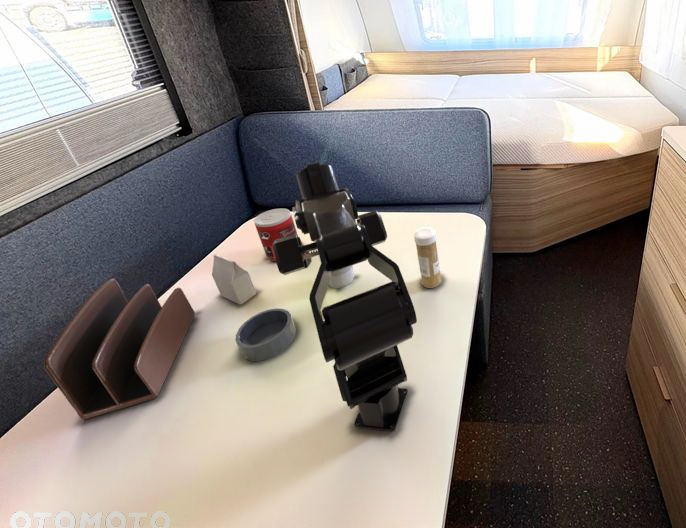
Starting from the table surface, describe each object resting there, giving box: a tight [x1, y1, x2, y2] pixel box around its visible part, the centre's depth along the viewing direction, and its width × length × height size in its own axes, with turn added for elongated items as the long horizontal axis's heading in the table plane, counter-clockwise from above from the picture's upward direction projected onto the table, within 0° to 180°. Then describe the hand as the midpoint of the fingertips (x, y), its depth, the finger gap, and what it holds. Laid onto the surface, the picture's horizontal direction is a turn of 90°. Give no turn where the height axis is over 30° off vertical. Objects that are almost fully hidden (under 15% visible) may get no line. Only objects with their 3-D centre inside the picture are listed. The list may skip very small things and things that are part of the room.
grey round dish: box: [234, 307, 297, 362], centre depth 73 cm, size 9×9×4 cm
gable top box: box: [211, 253, 257, 306], centre depth 83 cm, size 4×7×10 cm, turn 65°
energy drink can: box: [316, 249, 355, 289], centre depth 85 cm, size 6×6×15 cm
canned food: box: [253, 207, 299, 262], centre depth 96 cm, size 8×8×11 cm
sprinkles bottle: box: [413, 226, 443, 289], centre depth 84 cm, size 5×5×14 cm
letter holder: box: [43, 278, 196, 421], centre depth 67 cm, size 10×20×14 cm, turn 21°
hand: (334, 250), depth 78 cm, fingers open, 9 cm apart
